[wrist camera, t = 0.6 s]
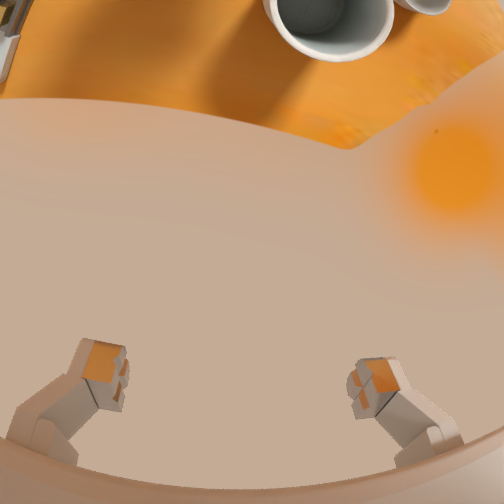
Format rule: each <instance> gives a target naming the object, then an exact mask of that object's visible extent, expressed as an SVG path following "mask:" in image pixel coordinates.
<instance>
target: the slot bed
mask: <svg viewBox="0 0 504 504" xmlns="http://www.w3.org/2000/svg"><path fill="white" fill-rule="evenodd" d="M2 1H6V2H10V3H13V4H16V5H15V7H14V10H13V12H12V15H11V17H10V20H9V22H8V24H6V25H3V26H1V27H0V30H1V31H4V32H5V34H4V36H5V37H8V38H9V37H12V36H14V35H15V36H17V35H19V34H20V31H21V29H22V26H23V24H24V21H25V19H26V16H27V14H28V12H29V9H30V7H31V5H32V3H33V1H34V0H0V2H2Z"/></svg>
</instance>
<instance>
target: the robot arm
mask: <svg viewBox="0 0 504 504" xmlns="http://www.w3.org/2000/svg"><path fill="white" fill-rule="evenodd" d="M125 356H126V348H125V346H122V345H116V344H111V343H106V342H101V341H96V340H91V339H87V338H83V339H82V340H81V341H80V343H79V345H78V347H77V350H76V352H75V355H74V357H73V360H72V362H71V365H70V367H69V370H68V372H67V375H66V374H62V375H61V376H59V377H58V378H56V379H55V380H54V381H52V382H51V383H50V384H48V385H47V386H46V387H44V388H43V389H41V390H40V391H39V392H37V393H36V394H35V395H33V396H32V397H30V398H29V399H28V400H26V401H25V402H24V403H22V404H21V405H20V406H18V407H17V409H16V411H15V414H14V416H13V419H12V421H11V424H10V427H9V430H8V433H7V436H6V439H3V438H1V437H0V504H504V426H502V427H500V428H499V429H497V430H495V431H493V432H491V433H489V434H487V435H485V436H482V437H480V438H478V439H476V440H474V441H471V442H469V443H467V444H464V442H463V440H462V437H461V435H460V433H459V430H458V428H457V426H456V423H455V421H454V419H453V418H451V417H450V416H449V415H447V414H446V413H445V412H444V411H442V410H441V409H440V408H438V407H437V406H436V405H435V404H433V403H432V402H430V400H428V399H427V398H426V397H424V396H423V395H422V394H421V393H419V392H418V391H417V390H416V389H411V387H410V385H409V382H408V380H407V378H406V376H405V374H404V372H403V369H402V367H401V365H400V363H399V361H398V359H397V358H396V357H384V358H382V357H380V358H365V359H360V360H358V361H357V363H356V365H355V366H356V369H355V370H354V371H352V372H351V373H350V375H349V377H348V379H347V392H348V395H349V396H350V397H351V398H352V399H353V400H354V401H353V403H352V408H353V412H354V415H355V418H356V419H365V418H374V417H375V419H376V420H377V421H378V422H379V424H380V425H381V426H382V427H383V428H384V429H385V430H386V431H387V432H388V433H389V434H390V435H391V436H392V437H393V439H395V441H396V442H397V443H398V444H399V445H400V446H401V447H402V448H403V450H401V451H400V452H399V453H398V454H396V455H395V457H394V460H395V464H396V467H397V468H396V469H392V470H388V471H385V472H381V473H376V474H372V475H368V476H363V477H359V478H353V479H348V480H343V481H337V482H331V483H324V484H318V485H309V486H300V487H288V488H275V489H245V490H244V489H243V490H238V489H236V490H235V489H231V490H230V489H204V488H191V487H180V486H170V485H162V484H155V483H149V482H143V481H137V480H131V479H126V478H122V477H117V476H112V475H108V474H104V473H99V472H96V471H91V470H88V469H84V468H81V467H77V466H76V465H77V460H78V455H79V454H78V453H77V451H76V450H75V449H74V447H73V446H72V445H71V444H70V443H69V442H68V440H69V439H70V438H71V437H72V436H73V435H74V434H75V433H76V432H77V431H78V430H79V429H80V428H81V427H82V426H83V425H84V424H85V423H86V422H87V421H88V420H89V419H90V418H91V417H92V416H93V415H94V414H95V413H96V412H97V411H98V408H99V409H105V410H110V411H116V412H122V407H123V403H124V398H125V396H124V393H123V389H124V388H126V387H127V385H128V380H129V362H128V360H127V359H126V358H125Z"/></svg>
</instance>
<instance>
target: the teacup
mask: <svg viewBox="0 0 504 504" xmlns="http://www.w3.org/2000/svg"><path fill="white" fill-rule="evenodd" d="M394 1H395V2H396V3H397V4H398V5H400V6H402V7H403V8H406V9H408V10H411V11H414V12H419V13H422V14H425V15H439V14H442V13H443V12H445V11H446V10H447V9H448V8H449V6H450V4H451V1H452V0H394Z"/></svg>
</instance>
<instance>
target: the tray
mask: <svg viewBox="0 0 504 504" xmlns="http://www.w3.org/2000/svg"><path fill="white" fill-rule="evenodd" d="M4 34H5V32H4V31H1V30H0V83H1V82H3V81H4V80H6V79H7V76H8V73H9V69H10V66H11V63H12V60H13V56H14V53H15V50H16V48H17V45H18V42H19V39H20V36H21V35H17V36H15V35H14V36H12V37H9V38H8V37H5V36H4Z"/></svg>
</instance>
